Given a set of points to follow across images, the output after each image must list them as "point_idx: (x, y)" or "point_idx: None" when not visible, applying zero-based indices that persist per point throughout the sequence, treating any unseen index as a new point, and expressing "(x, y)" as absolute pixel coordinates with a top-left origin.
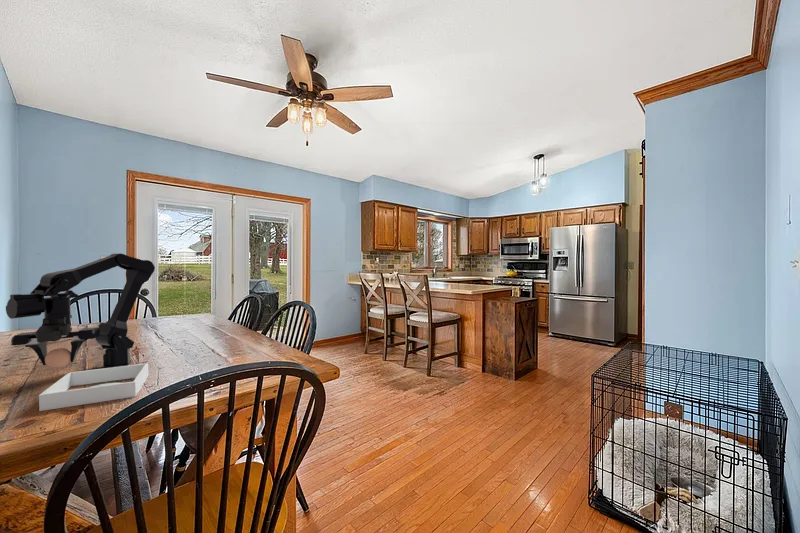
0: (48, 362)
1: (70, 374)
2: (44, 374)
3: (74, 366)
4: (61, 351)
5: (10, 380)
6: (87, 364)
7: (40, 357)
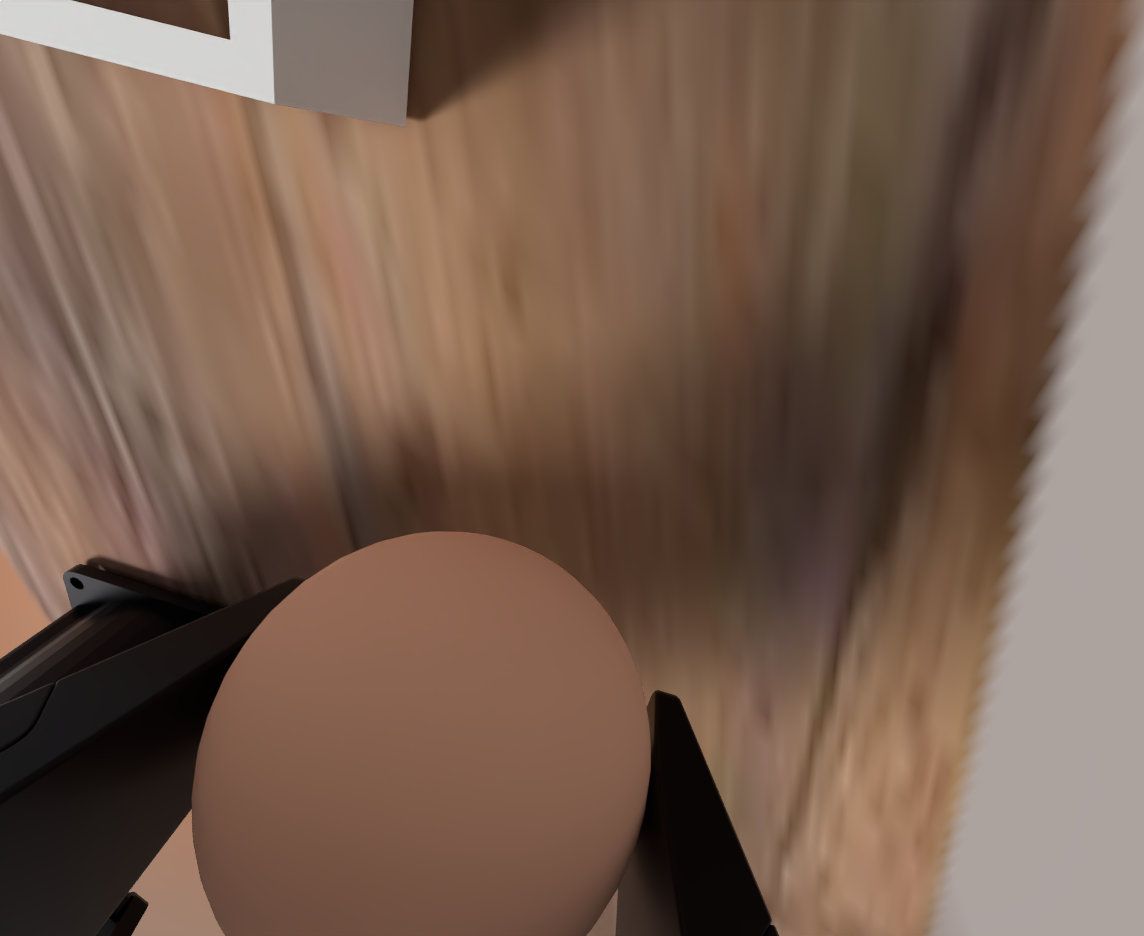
0: (588, 621)
1: (248, 9)
2: None
3: None
4: (257, 801)
5: (922, 838)
6: None
7: (721, 849)
